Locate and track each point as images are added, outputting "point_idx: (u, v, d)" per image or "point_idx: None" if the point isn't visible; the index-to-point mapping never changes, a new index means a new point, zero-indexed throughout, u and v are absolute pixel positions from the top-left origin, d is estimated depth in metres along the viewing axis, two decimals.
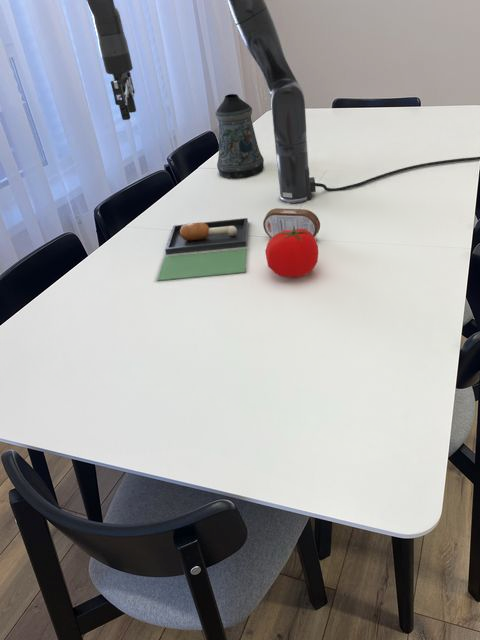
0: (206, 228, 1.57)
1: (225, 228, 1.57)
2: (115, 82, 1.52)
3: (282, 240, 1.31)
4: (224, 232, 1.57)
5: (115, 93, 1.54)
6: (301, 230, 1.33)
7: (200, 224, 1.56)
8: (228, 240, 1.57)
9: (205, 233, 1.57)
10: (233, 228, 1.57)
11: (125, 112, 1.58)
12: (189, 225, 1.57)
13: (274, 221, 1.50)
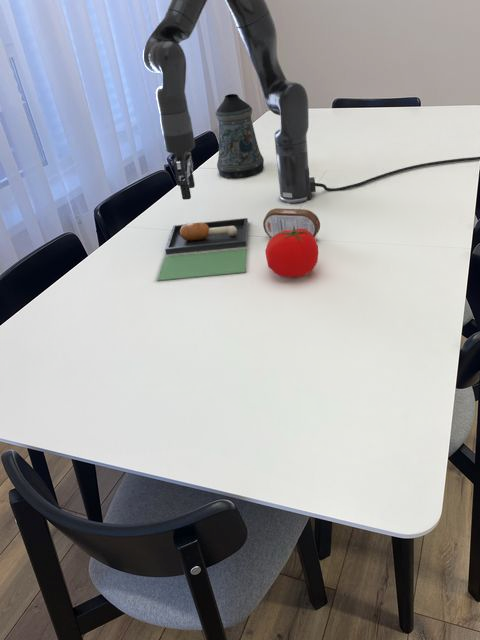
0: (206, 228, 1.57)
1: (225, 228, 1.57)
2: (178, 163, 1.41)
3: (282, 240, 1.31)
4: (224, 232, 1.57)
5: (177, 174, 1.43)
6: (301, 230, 1.33)
7: (200, 224, 1.56)
8: (228, 240, 1.57)
9: (205, 233, 1.57)
10: (233, 228, 1.57)
11: (186, 192, 1.47)
12: (189, 225, 1.57)
13: (274, 221, 1.50)
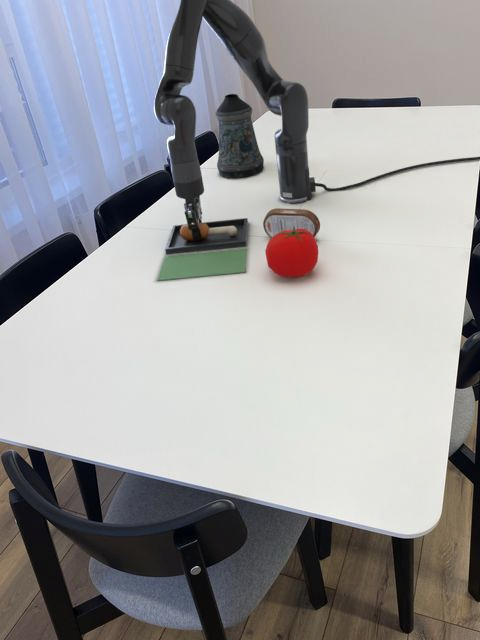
0: (206, 228, 1.57)
1: (225, 228, 1.57)
2: (189, 213, 1.48)
3: (282, 240, 1.31)
4: (224, 232, 1.57)
5: (189, 221, 1.50)
6: (301, 230, 1.33)
7: (200, 224, 1.56)
8: (228, 240, 1.57)
9: (205, 233, 1.57)
10: (233, 228, 1.57)
11: (197, 235, 1.55)
12: None
13: (274, 221, 1.50)
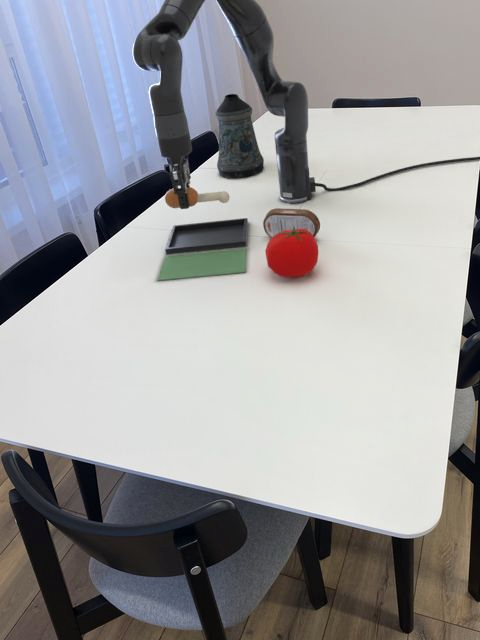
0: (194, 193, 1.38)
1: (216, 194, 1.39)
2: (175, 174, 1.30)
3: (282, 240, 1.31)
4: (215, 198, 1.39)
5: (174, 184, 1.32)
6: (301, 230, 1.33)
7: (188, 189, 1.38)
8: (228, 240, 1.57)
9: (193, 199, 1.38)
10: (225, 194, 1.38)
11: (184, 201, 1.37)
12: None
13: (274, 221, 1.50)
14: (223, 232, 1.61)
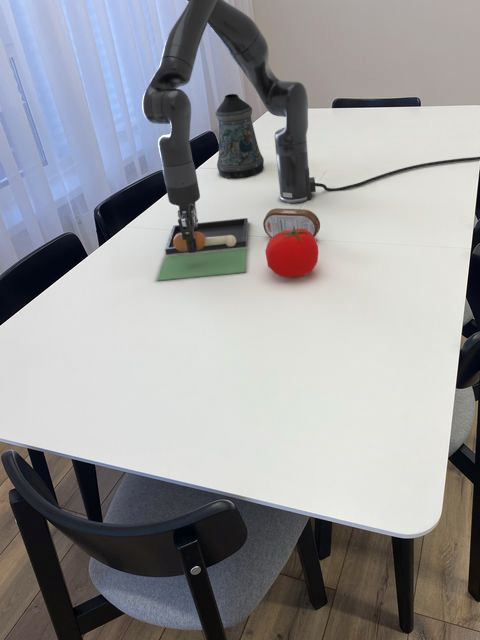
0: (202, 238, 1.42)
1: (223, 238, 1.42)
2: (183, 221, 1.33)
3: (282, 240, 1.31)
4: (222, 242, 1.42)
5: (183, 231, 1.35)
6: (301, 230, 1.33)
7: (195, 233, 1.41)
8: None
9: (201, 243, 1.42)
10: (232, 238, 1.42)
11: (192, 246, 1.40)
12: None
13: (274, 221, 1.50)
14: (223, 232, 1.61)
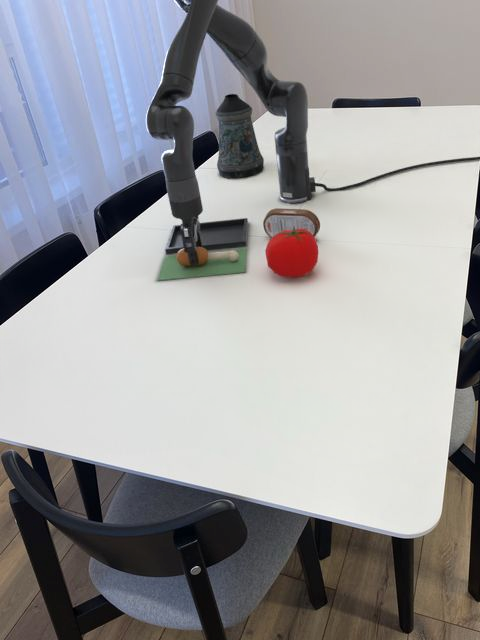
0: (205, 253, 1.44)
1: (226, 253, 1.44)
2: (185, 230, 1.34)
3: (282, 240, 1.31)
4: (224, 257, 1.45)
5: (185, 241, 1.36)
6: (301, 230, 1.33)
7: (198, 249, 1.44)
8: (228, 240, 1.57)
9: (204, 259, 1.44)
10: (234, 253, 1.44)
11: (194, 258, 1.40)
12: None
13: (274, 221, 1.50)
14: (223, 232, 1.61)
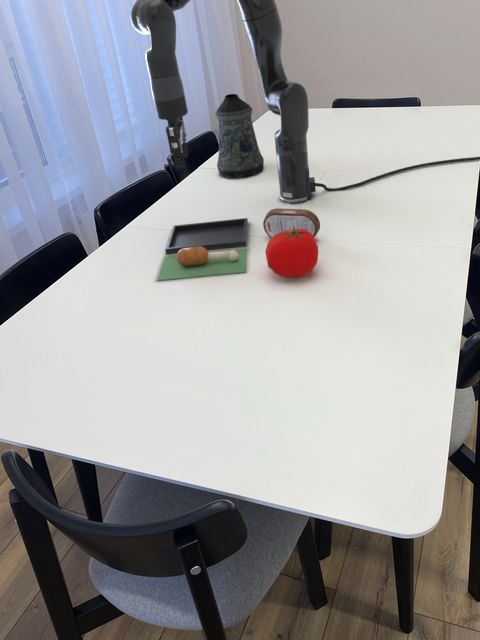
0: (205, 253, 1.44)
1: (226, 253, 1.44)
2: (171, 129, 1.36)
3: (282, 240, 1.31)
4: (224, 257, 1.45)
5: (170, 141, 1.37)
6: (301, 230, 1.33)
7: (198, 248, 1.44)
8: (228, 240, 1.57)
9: (204, 258, 1.44)
10: (234, 253, 1.44)
11: (180, 160, 1.42)
12: (186, 250, 1.44)
13: (274, 221, 1.50)
14: (223, 232, 1.61)
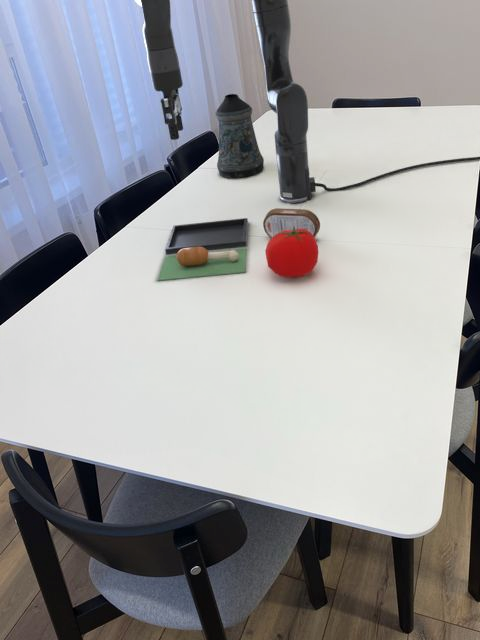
0: (205, 253, 1.44)
1: (226, 253, 1.44)
2: (165, 100, 1.42)
3: (282, 240, 1.31)
4: (224, 257, 1.45)
5: (165, 112, 1.43)
6: (301, 230, 1.33)
7: (198, 249, 1.44)
8: (228, 240, 1.57)
9: (204, 258, 1.44)
10: (234, 253, 1.44)
11: (174, 131, 1.47)
12: (186, 250, 1.44)
13: (274, 221, 1.50)
14: (223, 232, 1.61)
